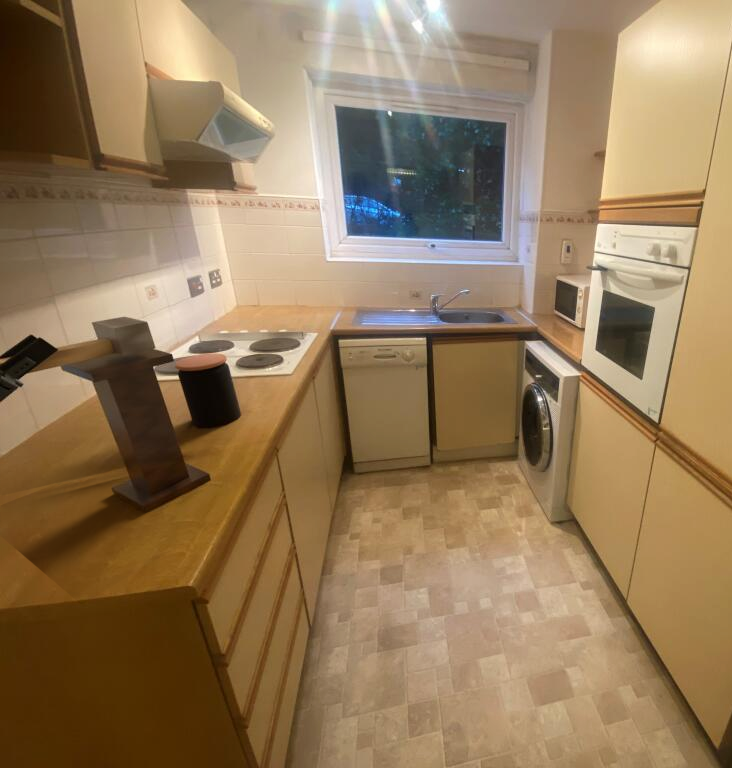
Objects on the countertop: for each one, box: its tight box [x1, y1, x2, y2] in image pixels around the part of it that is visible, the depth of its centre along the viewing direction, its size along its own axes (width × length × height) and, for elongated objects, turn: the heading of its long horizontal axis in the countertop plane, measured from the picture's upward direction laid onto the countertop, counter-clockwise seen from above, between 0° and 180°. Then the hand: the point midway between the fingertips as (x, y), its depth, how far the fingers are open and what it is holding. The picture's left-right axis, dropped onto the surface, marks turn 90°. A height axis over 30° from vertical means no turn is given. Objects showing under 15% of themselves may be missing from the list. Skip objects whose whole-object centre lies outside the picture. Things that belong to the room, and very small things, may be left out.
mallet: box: [0, 316, 157, 375], centre depth 72 cm, size 21×8×5 cm, turn 153°
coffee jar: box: [174, 352, 242, 429], centre depth 111 cm, size 11×11×18 cm
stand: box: [60, 348, 212, 513], centre depth 84 cm, size 12×12×28 cm
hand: (44, 342), depth 69 cm, fingers closed on mallet, 2 cm apart
